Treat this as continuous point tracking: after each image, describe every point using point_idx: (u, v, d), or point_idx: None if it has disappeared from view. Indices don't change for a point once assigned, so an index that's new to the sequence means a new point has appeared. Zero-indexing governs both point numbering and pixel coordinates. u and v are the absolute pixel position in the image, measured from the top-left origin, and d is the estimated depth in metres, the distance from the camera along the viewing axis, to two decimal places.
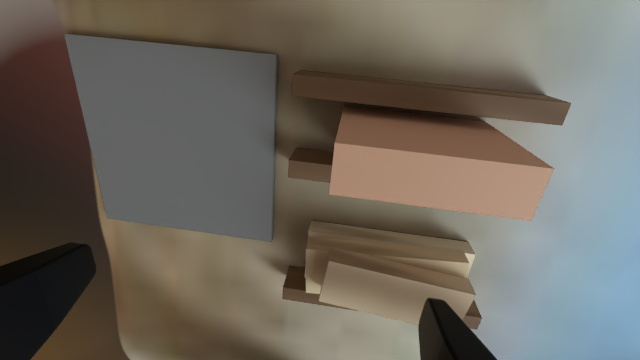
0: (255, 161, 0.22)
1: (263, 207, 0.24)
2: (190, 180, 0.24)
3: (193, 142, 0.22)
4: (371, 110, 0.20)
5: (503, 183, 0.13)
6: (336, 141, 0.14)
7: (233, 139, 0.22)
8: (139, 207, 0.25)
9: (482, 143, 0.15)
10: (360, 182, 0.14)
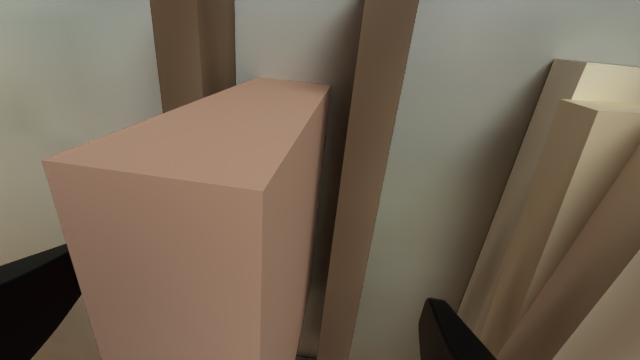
0: None
1: None
2: None
3: None
4: None
5: (143, 289, 0.04)
6: None
7: None
8: None
9: None
10: None
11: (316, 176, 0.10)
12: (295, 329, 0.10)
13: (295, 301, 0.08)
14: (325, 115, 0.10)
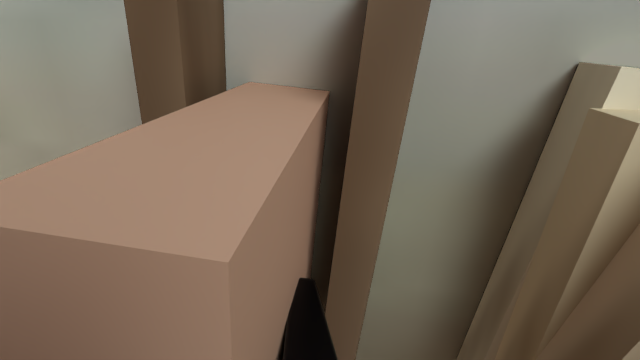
0: None
1: None
2: None
3: None
4: None
5: None
6: None
7: None
8: None
9: None
10: None
11: (313, 193, 0.09)
12: None
13: None
14: (323, 125, 0.09)
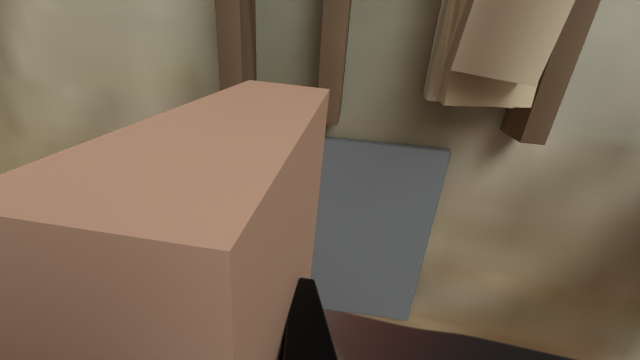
0: (335, 160, 0.20)
1: (397, 157, 0.19)
2: (360, 230, 0.22)
3: (317, 219, 0.22)
4: None
5: None
6: None
7: None
8: (393, 288, 0.23)
9: None
10: None
11: (313, 190, 0.09)
12: None
13: None
14: (323, 122, 0.09)
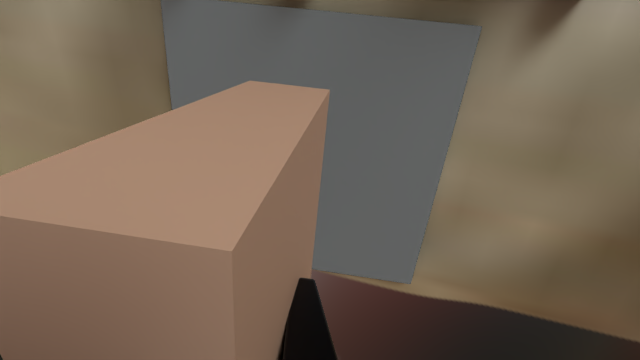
0: (318, 43, 0.14)
1: (404, 37, 0.14)
2: (351, 154, 0.16)
3: None
4: None
5: None
6: None
7: (284, 76, 0.15)
8: (394, 238, 0.18)
9: None
10: None
11: (314, 191, 0.09)
12: None
13: None
14: (324, 123, 0.09)
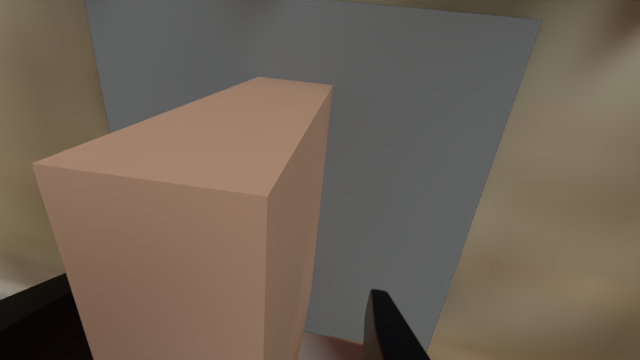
0: (303, 44, 0.10)
1: (426, 35, 0.09)
2: (351, 194, 0.12)
3: None
4: None
5: (139, 299, 0.04)
6: None
7: None
8: (406, 298, 0.14)
9: None
10: None
11: (318, 178, 0.10)
12: (297, 334, 0.09)
13: (297, 306, 0.08)
14: (327, 115, 0.10)
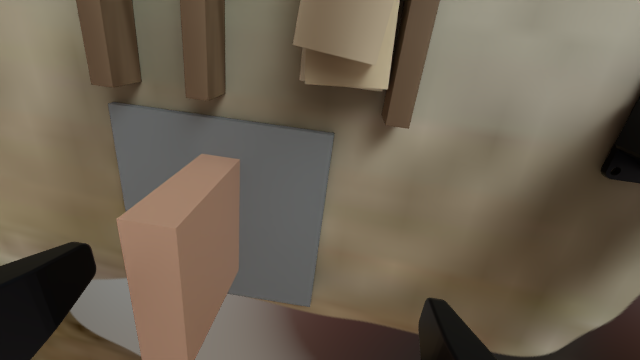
0: (223, 140, 0.20)
1: (282, 139, 0.19)
2: (255, 214, 0.22)
3: None
4: None
5: (143, 255, 0.14)
6: None
7: None
8: (293, 273, 0.23)
9: None
10: (171, 351, 0.16)
11: (228, 208, 0.19)
12: (216, 285, 0.19)
13: (212, 269, 0.18)
14: (234, 176, 0.20)
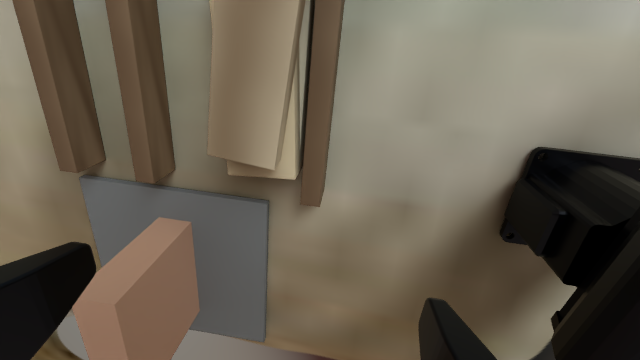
0: (175, 206, 0.23)
1: (224, 206, 0.22)
2: (208, 265, 0.25)
3: None
4: None
5: (92, 323, 0.17)
6: None
7: None
8: (246, 314, 0.27)
9: None
10: None
11: (179, 266, 0.22)
12: (170, 332, 0.22)
13: (163, 321, 0.21)
14: (185, 238, 0.23)
